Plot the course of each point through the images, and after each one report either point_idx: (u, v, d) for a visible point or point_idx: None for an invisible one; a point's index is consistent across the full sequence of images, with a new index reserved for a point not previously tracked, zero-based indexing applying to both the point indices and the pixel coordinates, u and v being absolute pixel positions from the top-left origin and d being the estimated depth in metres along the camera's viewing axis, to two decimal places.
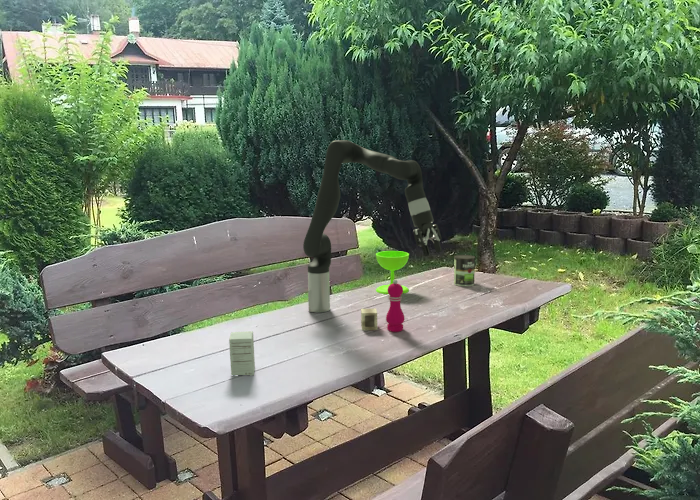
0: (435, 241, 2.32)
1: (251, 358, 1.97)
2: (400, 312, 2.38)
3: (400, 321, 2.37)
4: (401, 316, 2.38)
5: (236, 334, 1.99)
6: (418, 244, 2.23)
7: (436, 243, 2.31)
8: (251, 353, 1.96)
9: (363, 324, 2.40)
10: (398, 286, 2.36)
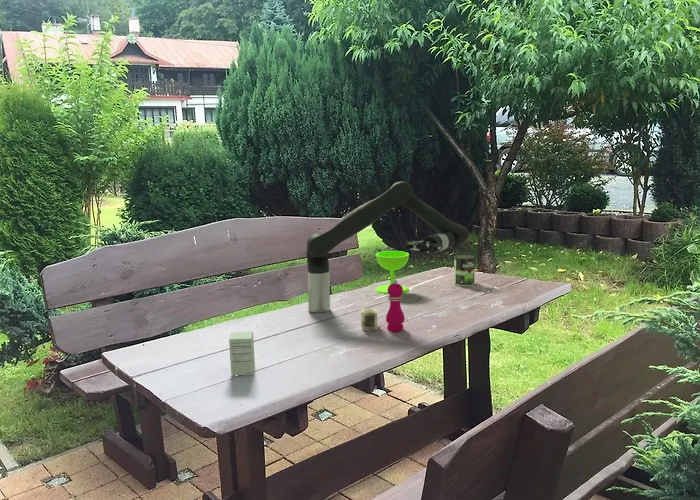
0: (410, 246, 2.48)
1: (251, 358, 1.97)
2: (400, 312, 2.38)
3: (400, 321, 2.37)
4: (401, 316, 2.38)
5: (236, 334, 1.99)
6: (433, 248, 2.42)
7: (409, 247, 2.48)
8: (251, 353, 1.96)
9: (363, 324, 2.40)
10: (398, 286, 2.36)
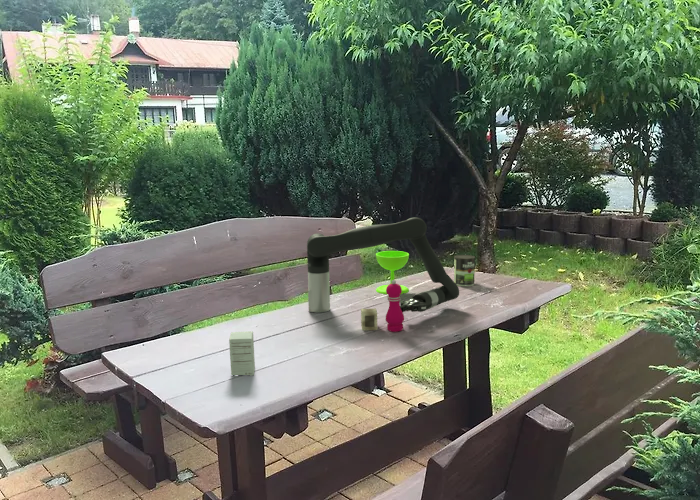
0: None
1: (251, 358, 1.97)
2: (399, 312, 2.37)
3: (400, 321, 2.37)
4: (400, 316, 2.37)
5: (236, 334, 1.99)
6: (413, 307, 2.43)
7: None
8: (251, 353, 1.96)
9: (363, 324, 2.40)
10: (396, 286, 2.35)
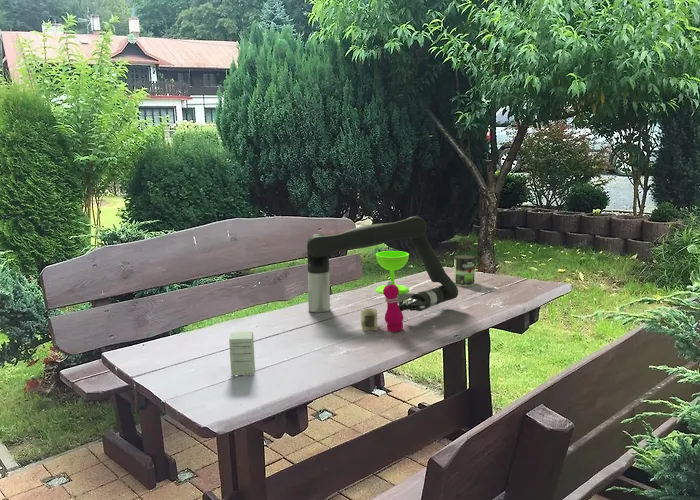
0: None
1: (251, 358, 1.97)
2: (398, 312, 2.36)
3: (399, 321, 2.36)
4: (399, 316, 2.36)
5: (236, 334, 1.99)
6: (412, 306, 2.42)
7: None
8: (251, 353, 1.96)
9: (363, 324, 2.40)
10: (393, 288, 2.33)
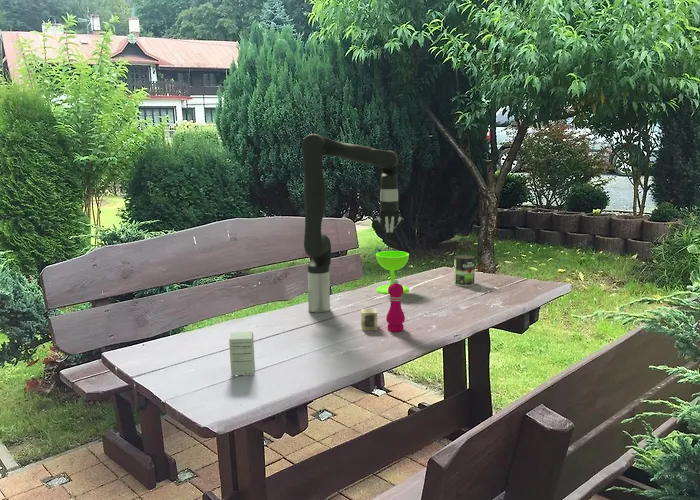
0: (388, 230, 2.57)
1: (251, 358, 1.97)
2: (400, 312, 2.38)
3: (400, 321, 2.37)
4: (401, 316, 2.37)
5: (236, 334, 1.99)
6: None
7: None
8: (251, 353, 1.96)
9: (363, 324, 2.40)
10: (398, 286, 2.36)
